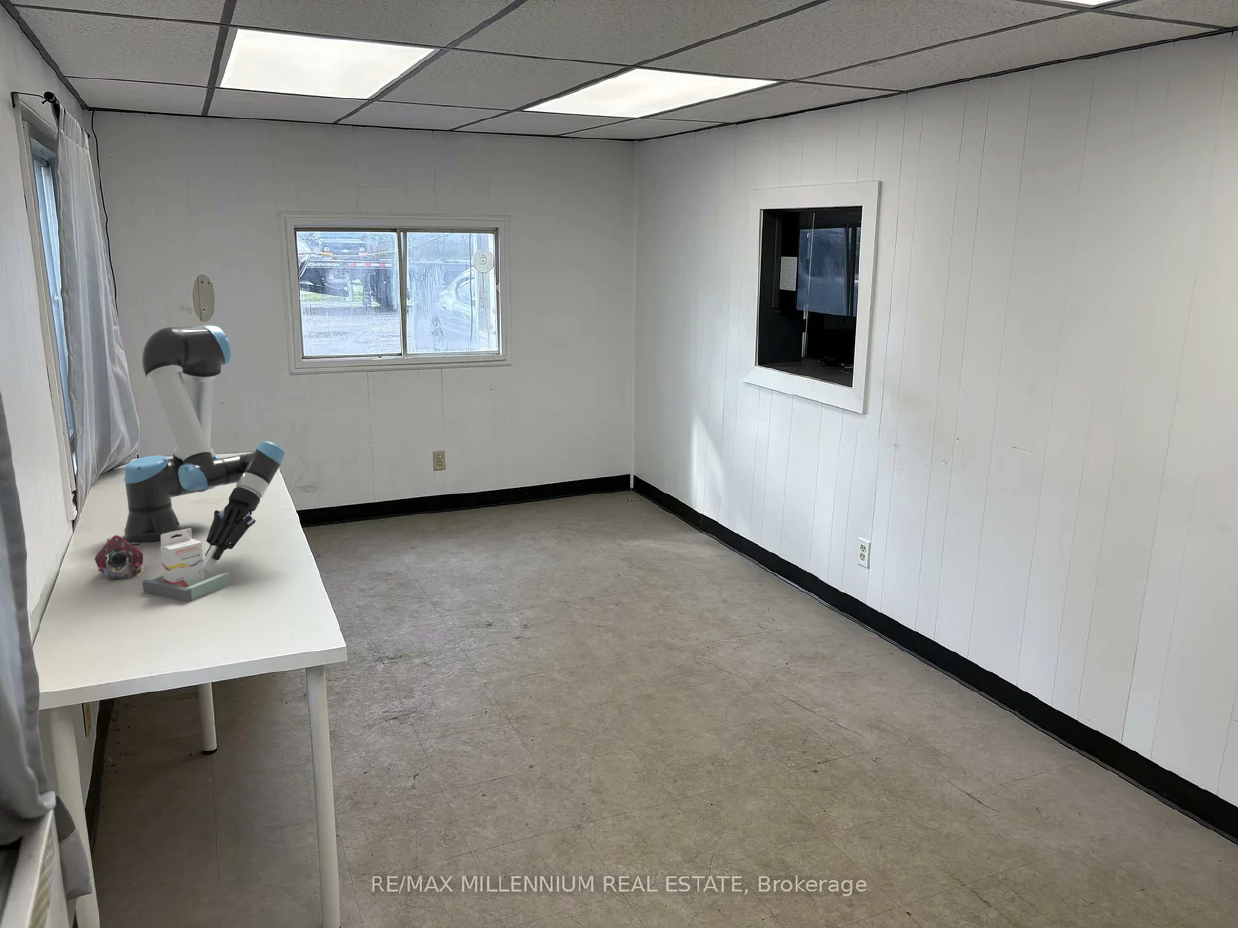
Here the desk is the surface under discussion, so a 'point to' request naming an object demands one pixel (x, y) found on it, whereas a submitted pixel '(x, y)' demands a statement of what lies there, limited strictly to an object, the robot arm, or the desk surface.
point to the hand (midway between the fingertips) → (205, 569)
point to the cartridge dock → (183, 593)
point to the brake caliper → (119, 559)
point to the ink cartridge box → (181, 559)
